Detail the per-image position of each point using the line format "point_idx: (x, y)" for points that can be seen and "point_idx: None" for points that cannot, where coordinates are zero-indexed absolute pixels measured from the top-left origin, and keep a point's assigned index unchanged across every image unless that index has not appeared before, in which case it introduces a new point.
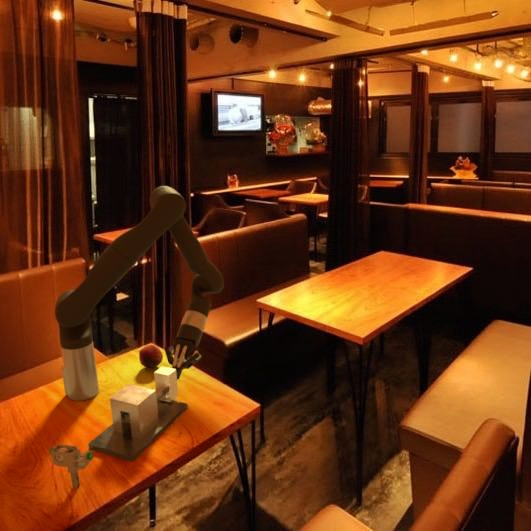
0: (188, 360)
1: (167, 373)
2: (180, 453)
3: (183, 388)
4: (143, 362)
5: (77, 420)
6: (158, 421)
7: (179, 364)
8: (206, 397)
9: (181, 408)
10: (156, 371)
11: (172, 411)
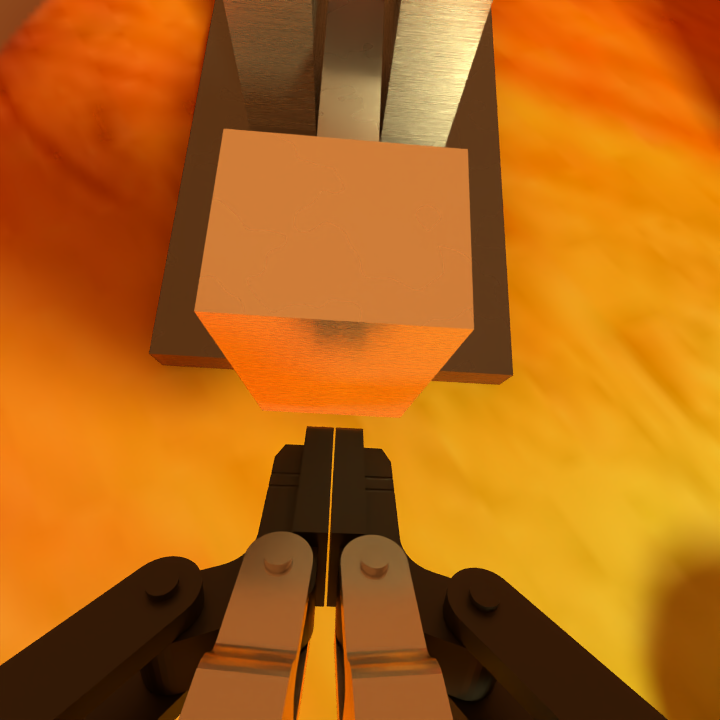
0: (60, 688)
1: (266, 167)
2: (40, 11)
3: (327, 622)
4: None
5: (700, 94)
6: (248, 118)
7: (272, 576)
8: (66, 553)
9: (169, 285)
10: (453, 177)
11: None
